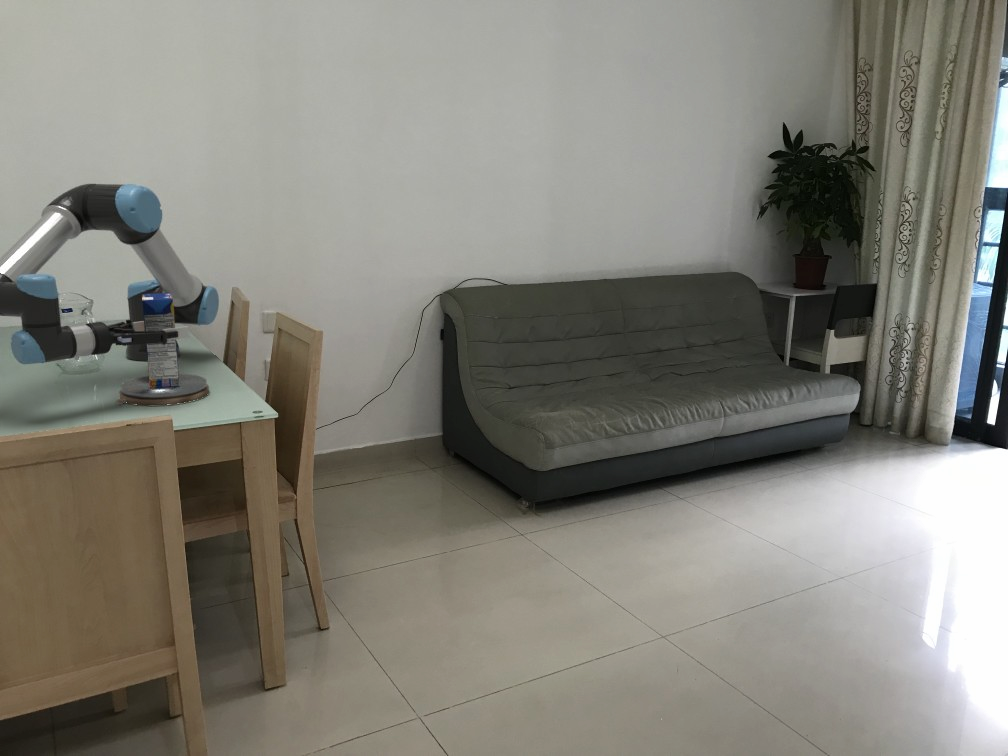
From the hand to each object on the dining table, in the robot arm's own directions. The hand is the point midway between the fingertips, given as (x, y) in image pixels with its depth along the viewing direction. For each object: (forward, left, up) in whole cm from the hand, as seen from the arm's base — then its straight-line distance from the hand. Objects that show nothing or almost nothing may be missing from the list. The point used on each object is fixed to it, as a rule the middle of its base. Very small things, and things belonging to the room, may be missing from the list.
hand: (172, 328), depth 204 cm
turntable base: (+3, 0, -17) cm, 17 cm away
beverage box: (+3, 0, -14) cm, 14 cm away
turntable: (+3, 0, -15) cm, 16 cm away
